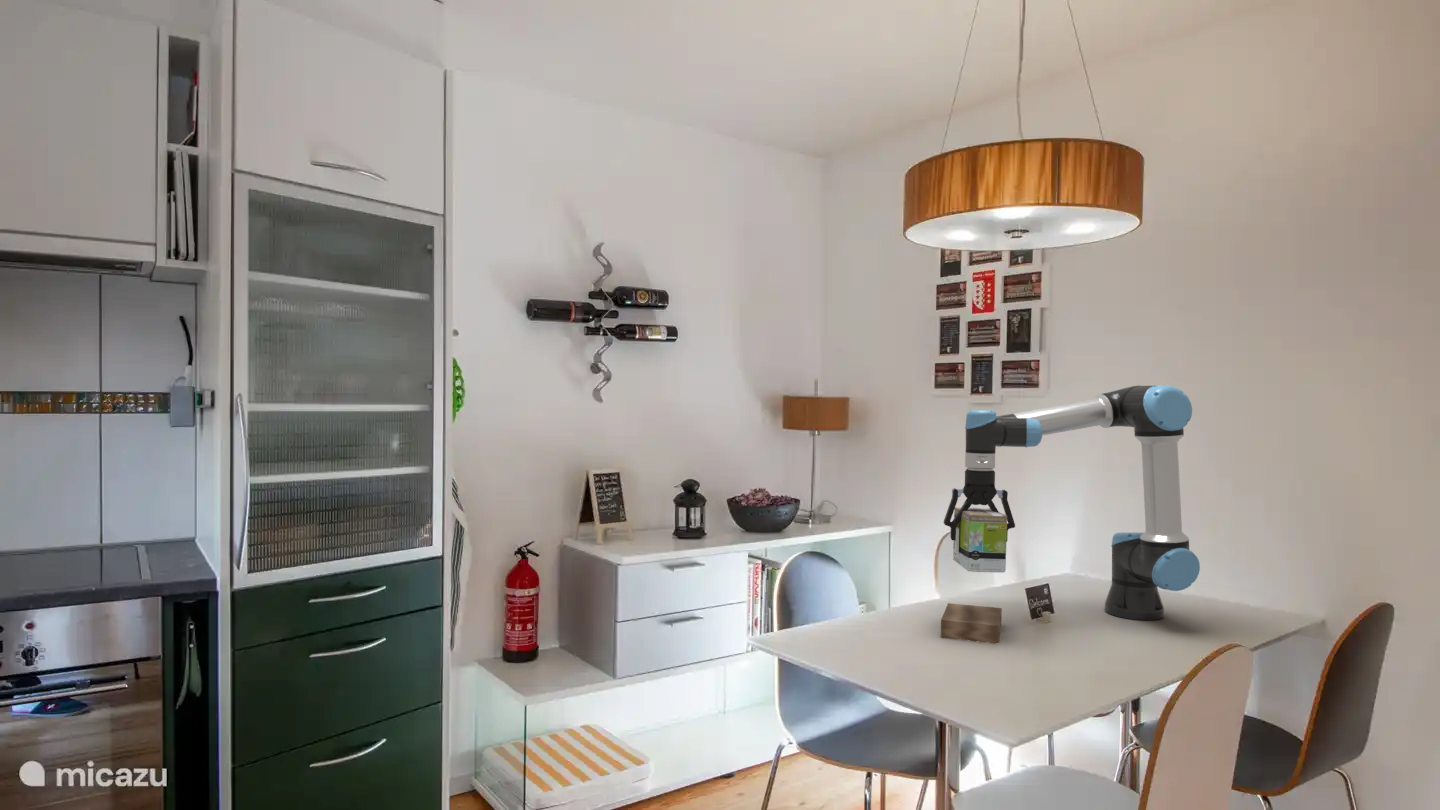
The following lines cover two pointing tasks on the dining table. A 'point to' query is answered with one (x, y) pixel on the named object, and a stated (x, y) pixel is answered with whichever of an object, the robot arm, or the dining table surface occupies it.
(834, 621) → the dining table surface
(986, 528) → the tea box
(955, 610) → the walnut block
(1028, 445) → the robot arm
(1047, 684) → the dining table surface
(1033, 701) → the dining table surface
